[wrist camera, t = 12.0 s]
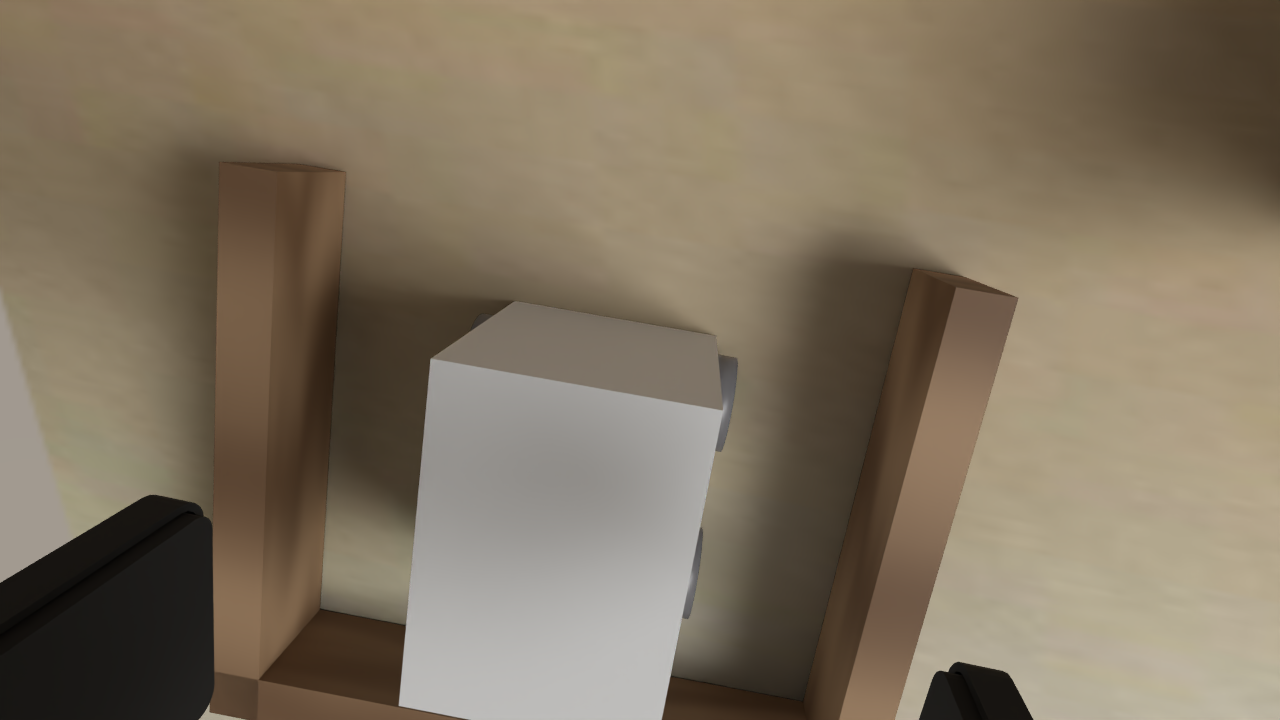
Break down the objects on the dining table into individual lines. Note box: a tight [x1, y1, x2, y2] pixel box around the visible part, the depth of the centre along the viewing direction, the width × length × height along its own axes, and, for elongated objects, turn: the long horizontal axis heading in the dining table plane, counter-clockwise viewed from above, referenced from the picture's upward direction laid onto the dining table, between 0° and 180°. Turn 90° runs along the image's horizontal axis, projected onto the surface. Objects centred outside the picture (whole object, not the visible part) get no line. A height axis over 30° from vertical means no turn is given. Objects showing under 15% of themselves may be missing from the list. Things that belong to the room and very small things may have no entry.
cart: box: [399, 301, 738, 720], centre depth 16 cm, size 7×6×6 cm
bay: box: [210, 162, 1018, 720], centre depth 18 cm, size 13×16×3 cm
